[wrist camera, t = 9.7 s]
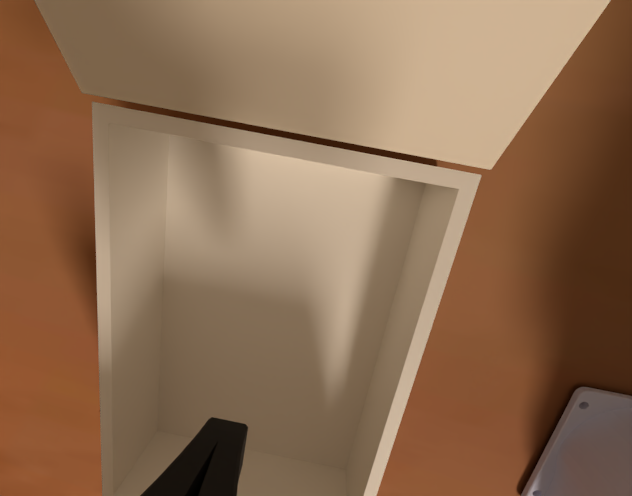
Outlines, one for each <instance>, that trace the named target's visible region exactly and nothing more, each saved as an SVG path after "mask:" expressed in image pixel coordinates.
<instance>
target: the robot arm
mask: <svg viewBox="0 0 632 496" xmlns="http://www.w3.org/2000/svg"><path fill="white" fill-rule="evenodd" d="M247 432H248V426H247V425H246V424H243V423H239V422H234V421H229V420H224V419H219V418H214V417H211V418H210V419H208V421H207V422H206V423H205V425H204V426H203V427H202V428H201V430H200V431H199V432H198V433H197V435H196V436H195V437H194V438H193V439H192V441H191V442H190V443H189V444H188V445H187V446H186V447H185V449H184V450H183V451H182V452H181V453H180V454H179V455H178V457H177V458H176V459H175V460H174V461H173V462H172V463H171V464H170V465H169V466H168V467H167V468H166V470H165V471H164V472H163V473H162V474H161V475H160V476H159V477H158V478H157V479H156V480H155V481H154V482H153V483H152V484H151V485H150V486H149V487H148V488H147V489H146V490H145V491H144V492H143V493H142V494H141V495H140V496H237V487H238V481H239V477H240V473H241V469H242V465H243V458H244V452H245V445H246V438H247ZM521 496H632V396H629V395H624V394H619V393H614V392H609V391H604V390H599V389H594V388H589V387H580V388H578V389H576V390H575V392H574V393H573V395H572V397H571V399H570V401H569V403H568V405H567V407H566V409H565V411H564V413H563V415H562V417H561V419H560V420H559V422H558V424H557V426H556V428H555V430H554V432H553V434H552V436H551V438H550V440H549V442H548V444H547V446H546V448H545V450H544V451H543V453H542V455H541V457H540V459H539V461H538V463H537V465H536V467H535V469H534V471H533V473H532V475H531V477H530V479H529V481H528V482H527V484H526V486H525V488H524V490H523V492H522V494H521Z"/></svg>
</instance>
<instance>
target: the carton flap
mask: <svg viewBox="0 0 632 496" xmlns="http://www.w3.org/2000/svg"><path fill="white" fill-rule="evenodd" d="M34 1H35V3H36V5H37V7H38V9H39V11H40V13H41V15H42V16H43V18H44V20H45V22H46V24H47V26H48V28H49V30H50V32H51V34H52V36H53V38H54V40H55V42H56V44H57V46H58V47H59V49H60V51H61V53H62V55H63V57H64V59H65V61H66V63H67V65H68V67H69V69H70V71H71V73H72V75H73V77H74V78H75V80H76V82H77V84H78V86H79V88H80V90H81V92H82V93H85V94H90V95H96V96H101V97H106V98H112V99H117V100H122V101H128V102H133V103H138V104H144V105H149V106H154V107H160V108H165V109H170V110H175V111H181V112H186V113H191V114H197V115H202V116H207V117H213V118H218V119H223V120H229V121H234V122H239V123H245V124H250V125H255V126H261V127H266V128H271V129H276V130H282V131H287V132H292V133H298V134H303V135H308V136H314V137H319V138H324V139H330V140H335V141H340V142H346V143H351V144H356V145H362V146H367V147H372V148H378V149H383V150H388V151H393V152H399V153H404V154H409V155H415V156H420V157H425V158H431V159H436V160H441V161H447V162H452V163H457V164H463V165H468V166H473V167H479V168H484V169H489V170H491V169H492V167H493V166H494V165H495V163H496V162H497V160H498V159H499V157H500V156H501V155H502V153H503V152H504V150H505V149H506V148H507V146H508V145H509V143H510V142H511V141H512V139H513V138H514V136H515V135H516V133H517V132H518V131H519V129H520V128H521V126H522V125H523V124H524V122H525V121H526V119H527V118H528V117H529V115H530V114H531V112H532V111H533V109H534V108H535V107H536V105H537V104H538V102H539V101H540V100H541V98H542V97H543V95H544V94H545V93H546V91H547V90H548V88H549V87H550V85H551V84H552V83H553V81H554V80H555V78H556V77H557V76H558V74H559V73H560V71H561V70H562V68H563V67H564V66H565V64H566V63H567V61H568V60H569V59H570V57H571V56H572V54H573V53H574V52H575V50H576V49H577V47H578V46H579V44H580V43H581V42H582V40H583V39H584V37H585V36H586V35H587V33H588V32H589V30H590V29H591V28H592V26H593V25H594V23H595V22H596V20H597V19H598V18H599V16H600V15H601V13H602V12H603V11H604V9H605V8H606V6H607V5H608V4H609V2H610V1H611V0H34Z"/></svg>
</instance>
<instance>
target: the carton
mask: <svg viewBox="0 0 632 496" xmlns="http://www.w3.org/2000/svg"><path fill="white" fill-rule="evenodd" d="M92 122H93V159H94V197H95V235H96V272H97V310H98V348H99V385H100V423H101V461H102V496H140V495H141V494H142V493H143V492H144V491H145V490H146V489H147V488H148V487H149V486H150V485H151V484H152V483H153V482H154V481H155V480H156V479H157V478H158V477H159V476H160V475H161V474H162V473H163V472H164V471H165V470H166V468H167V467H168V466H169V465H170V464H171V463H172V462H173V461H174V460H175V459H176V458H177V457H178V455H179V454H180V453H181V452H182V451H183V450H184V449H185V447H186V446H187V445H188V444H189V443H190V442H191V441H192V439H193V438H194V437H195V436H196V435H197V433H198V432H199V431H200V430H201V428H202V427H203V426H204V425H205V423H206V422H207V421H208V419H210V418H211V417H214V418H219V419H224V420H229V421H234V422H239V423H243V424H246V425H247V426H248V432H247V438H246V445H245V452H244V458H243V465H242V469H241V473H240V477H239V481H238V487H237V496H376V495H377V492H378V489H379V486H380V483H381V480H382V477H383V474H384V471H385V467H386V464H387V461H388V458H389V455H390V452H391V449H392V446H393V443H394V440H395V437H396V434H397V431H398V428H399V425H400V422H401V419H402V416H403V413H404V410H405V407H406V404H407V401H408V398H409V394H410V391H411V388H412V385H413V382H414V379H415V376H416V373H417V370H418V367H419V364H420V361H421V358H422V355H423V352H424V349H425V346H426V343H427V340H428V337H429V334H430V331H431V328H432V324H433V321H434V318H435V315H436V312H437V309H438V306H439V303H440V300H441V297H442V294H443V291H444V288H445V285H446V282H447V279H448V276H449V273H450V270H451V267H452V264H453V261H454V258H455V254H456V251H457V248H458V245H459V242H460V239H461V236H462V233H463V230H464V227H465V224H466V221H467V218H468V215H469V212H470V209H471V206H472V203H473V200H474V197H475V194H476V191H477V188H478V184H479V181H480V178H481V175H479V174H473V173H468V172H463V171H457V170H452V169H447V168H441V167H436V166H431V165H426V164H420V163H415V162H410V161H404V160H399V159H394V158H388V157H383V156H378V155H372V154H367V153H362V152H357V151H351V150H346V149H341V148H335V147H330V146H325V145H319V144H314V143H309V142H303V141H298V140H293V139H288V138H282V137H277V136H272V135H266V134H261V133H256V132H250V131H245V130H240V129H235V128H229V127H224V126H219V125H213V124H208V123H203V122H197V121H192V120H187V119H181V118H176V117H171V116H166V115H160V114H155V113H150V112H144V111H139V110H134V109H128V108H123V107H118V106H112V105H107V104H102V103H97V102H92Z"/></svg>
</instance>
